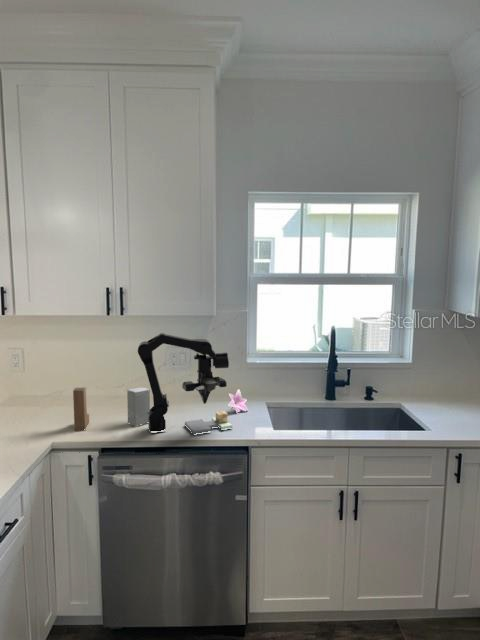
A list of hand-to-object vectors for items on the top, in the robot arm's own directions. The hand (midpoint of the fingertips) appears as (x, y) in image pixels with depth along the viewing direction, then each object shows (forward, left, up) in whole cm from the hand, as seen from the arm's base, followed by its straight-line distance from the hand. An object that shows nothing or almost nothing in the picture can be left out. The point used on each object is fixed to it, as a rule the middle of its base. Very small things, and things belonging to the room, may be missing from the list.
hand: (204, 403), depth 191 cm
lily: (+23, +15, -12) cm, 30 cm away
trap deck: (+2, 0, -11) cm, 12 cm away
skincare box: (-25, +18, -12) cm, 33 cm away
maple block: (+8, 0, -9) cm, 12 cm away
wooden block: (-49, +23, -12) cm, 55 cm away
